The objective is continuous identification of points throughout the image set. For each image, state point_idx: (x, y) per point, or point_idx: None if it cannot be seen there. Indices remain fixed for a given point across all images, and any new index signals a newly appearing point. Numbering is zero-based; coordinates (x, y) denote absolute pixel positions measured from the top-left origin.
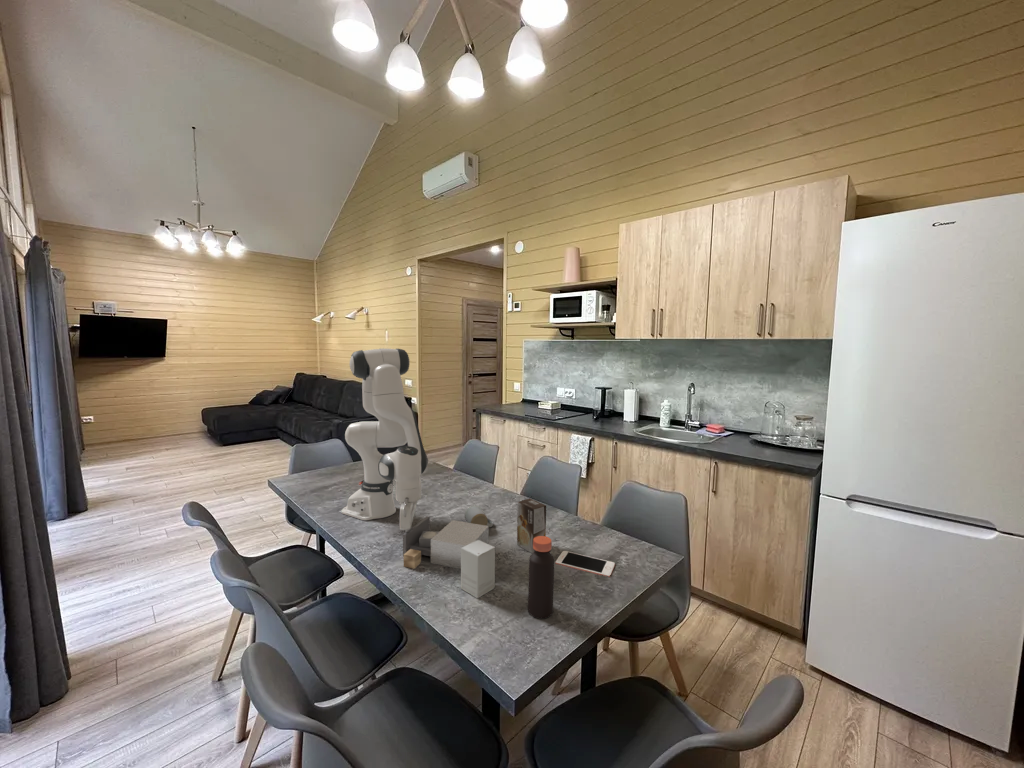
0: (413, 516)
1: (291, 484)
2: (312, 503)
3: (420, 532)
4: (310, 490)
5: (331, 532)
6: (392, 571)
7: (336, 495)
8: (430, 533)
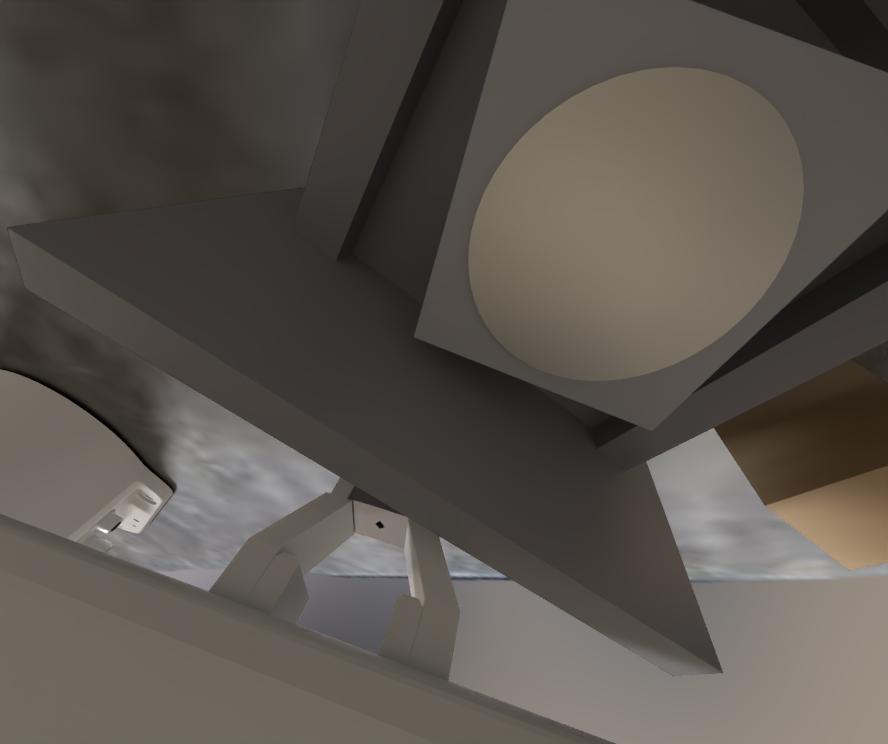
0: (325, 723)
1: None
2: (118, 553)
3: (427, 366)
4: None
5: None
6: (781, 523)
7: None
8: (559, 244)
